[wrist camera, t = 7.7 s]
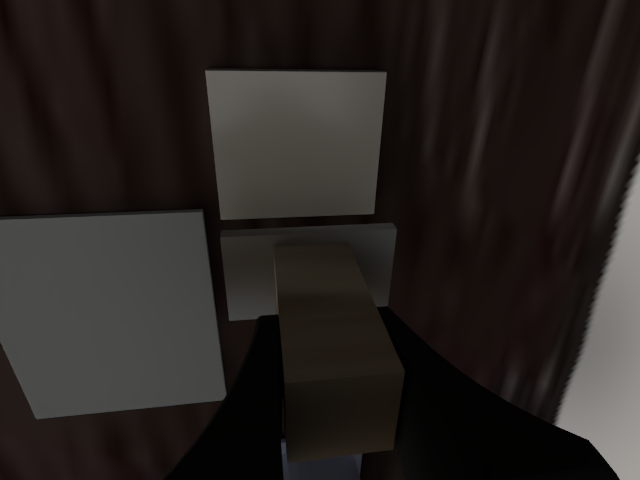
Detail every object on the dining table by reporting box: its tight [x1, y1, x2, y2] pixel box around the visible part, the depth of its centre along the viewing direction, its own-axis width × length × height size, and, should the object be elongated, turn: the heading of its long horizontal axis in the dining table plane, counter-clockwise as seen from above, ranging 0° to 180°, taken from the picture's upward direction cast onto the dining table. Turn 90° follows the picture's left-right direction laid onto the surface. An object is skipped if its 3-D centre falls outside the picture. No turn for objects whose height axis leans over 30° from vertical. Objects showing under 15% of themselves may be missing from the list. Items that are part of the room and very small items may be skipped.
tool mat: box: [0, 209, 227, 419], centre depth 23 cm, size 14×12×1 cm
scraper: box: [220, 223, 405, 463], centre depth 14 cm, size 4×7×8 cm, turn 89°
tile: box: [205, 68, 387, 220], centre depth 20 cm, size 2×8×7 cm
